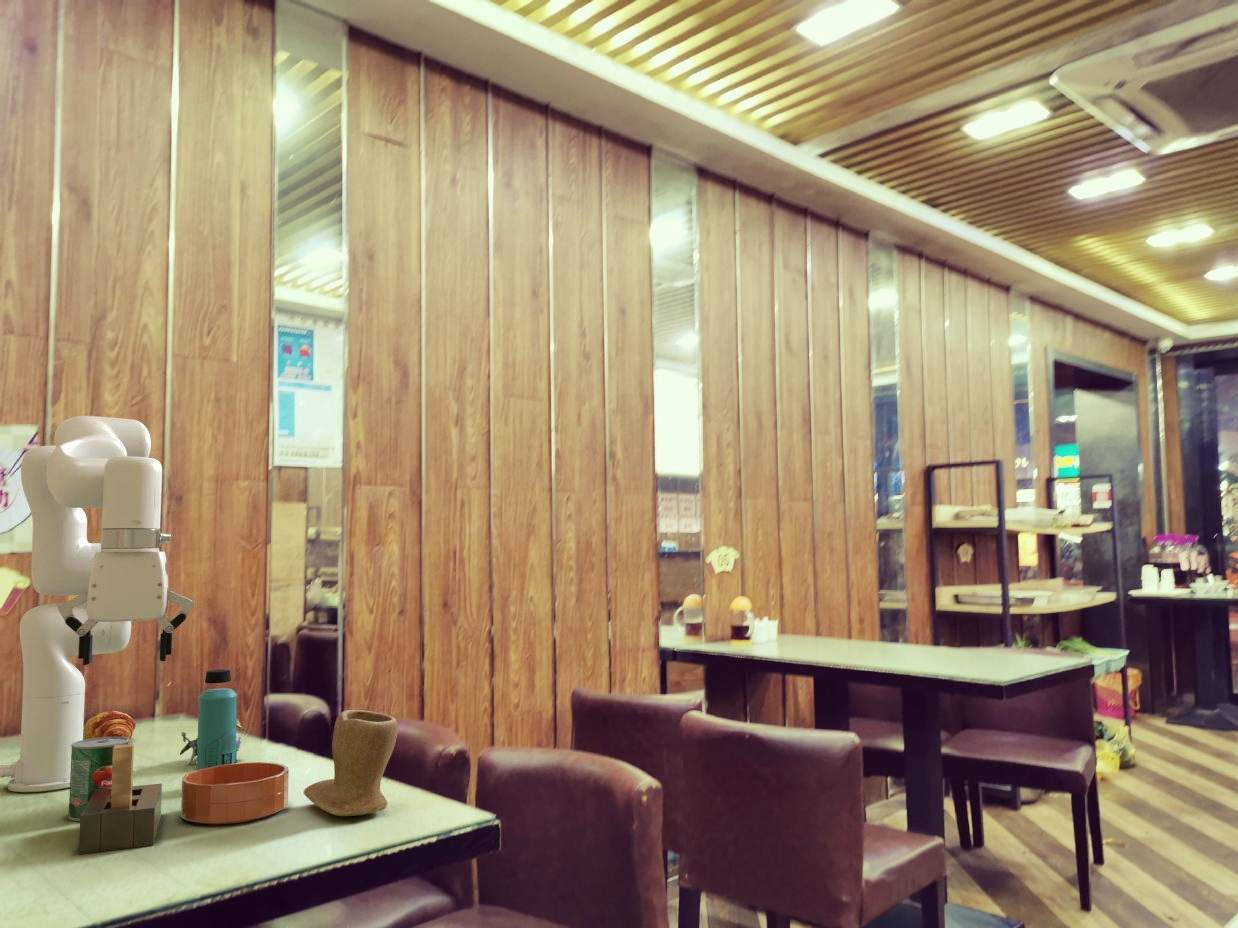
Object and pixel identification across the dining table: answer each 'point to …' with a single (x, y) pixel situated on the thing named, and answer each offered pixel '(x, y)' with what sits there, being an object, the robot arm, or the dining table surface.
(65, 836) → the dining table surface
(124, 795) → the light brown wooden bar
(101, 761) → the canned tomato
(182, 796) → the bowl
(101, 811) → the utensil stand
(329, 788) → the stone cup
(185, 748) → the passion flower
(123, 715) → the croissant
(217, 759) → the beverage bottle
